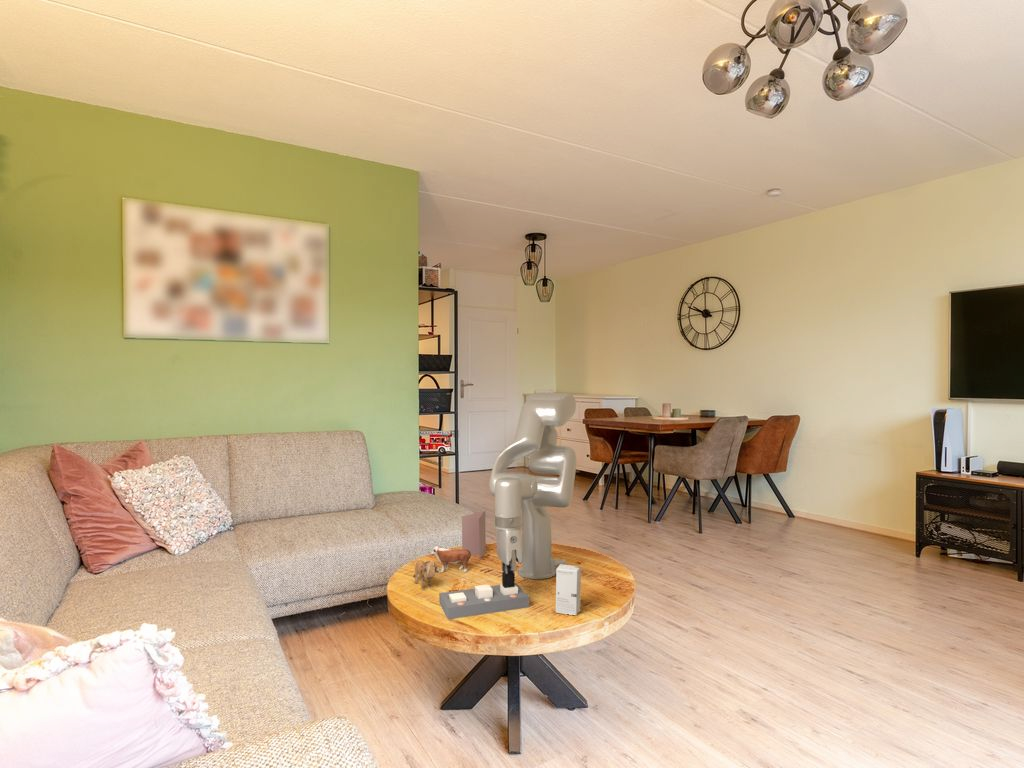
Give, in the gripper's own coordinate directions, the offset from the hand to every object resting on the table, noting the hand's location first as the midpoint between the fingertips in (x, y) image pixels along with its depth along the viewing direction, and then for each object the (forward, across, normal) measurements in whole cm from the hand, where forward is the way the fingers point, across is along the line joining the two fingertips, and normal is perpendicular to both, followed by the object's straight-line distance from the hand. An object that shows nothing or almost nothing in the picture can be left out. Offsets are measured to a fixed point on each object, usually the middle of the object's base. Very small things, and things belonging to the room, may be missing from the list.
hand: (508, 586), depth 160 cm
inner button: (+4, 0, 0) cm, 4 cm away
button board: (+5, 0, +7) cm, 9 cm away
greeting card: (+4, +42, -3) cm, 43 cm away
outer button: (+4, 0, +15) cm, 15 cm away
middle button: (+3, 0, +7) cm, 8 cm away
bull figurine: (+4, +31, +10) cm, 33 cm away
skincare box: (+5, -12, -13) cm, 18 cm away
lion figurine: (+5, +22, +20) cm, 30 cm away
